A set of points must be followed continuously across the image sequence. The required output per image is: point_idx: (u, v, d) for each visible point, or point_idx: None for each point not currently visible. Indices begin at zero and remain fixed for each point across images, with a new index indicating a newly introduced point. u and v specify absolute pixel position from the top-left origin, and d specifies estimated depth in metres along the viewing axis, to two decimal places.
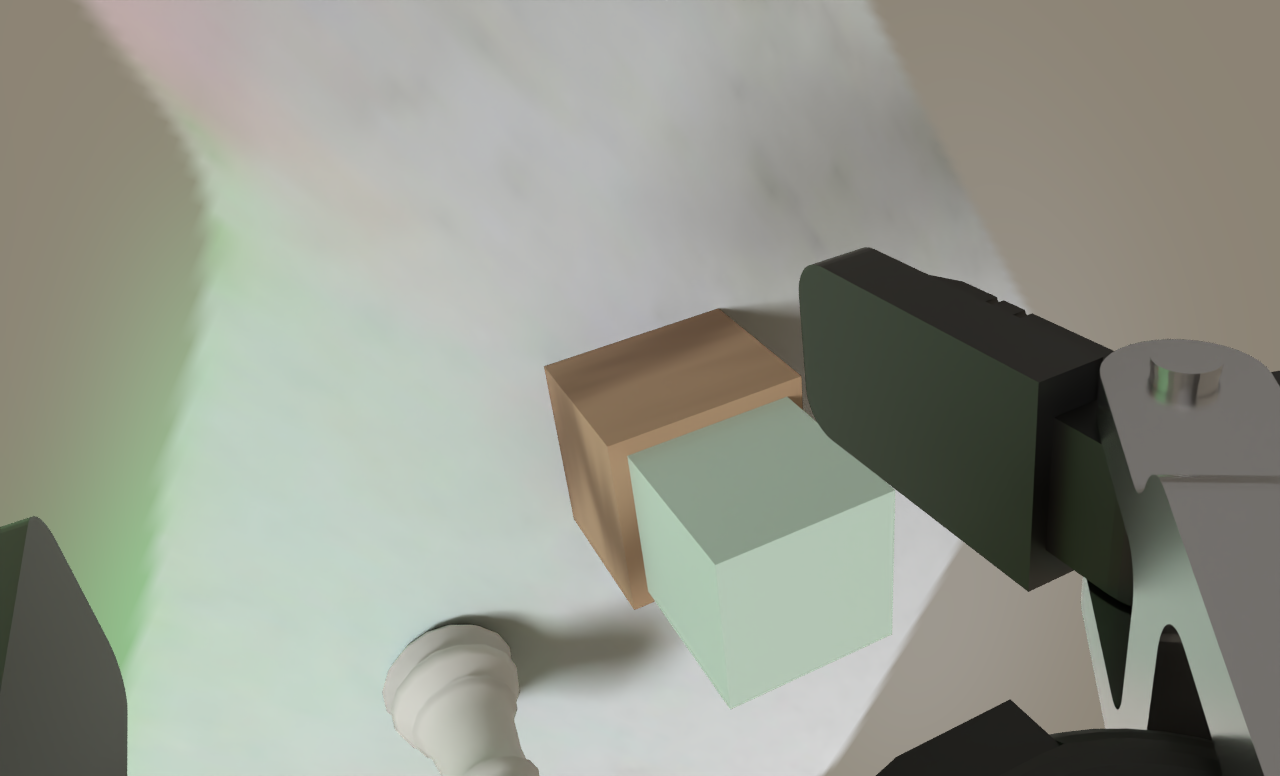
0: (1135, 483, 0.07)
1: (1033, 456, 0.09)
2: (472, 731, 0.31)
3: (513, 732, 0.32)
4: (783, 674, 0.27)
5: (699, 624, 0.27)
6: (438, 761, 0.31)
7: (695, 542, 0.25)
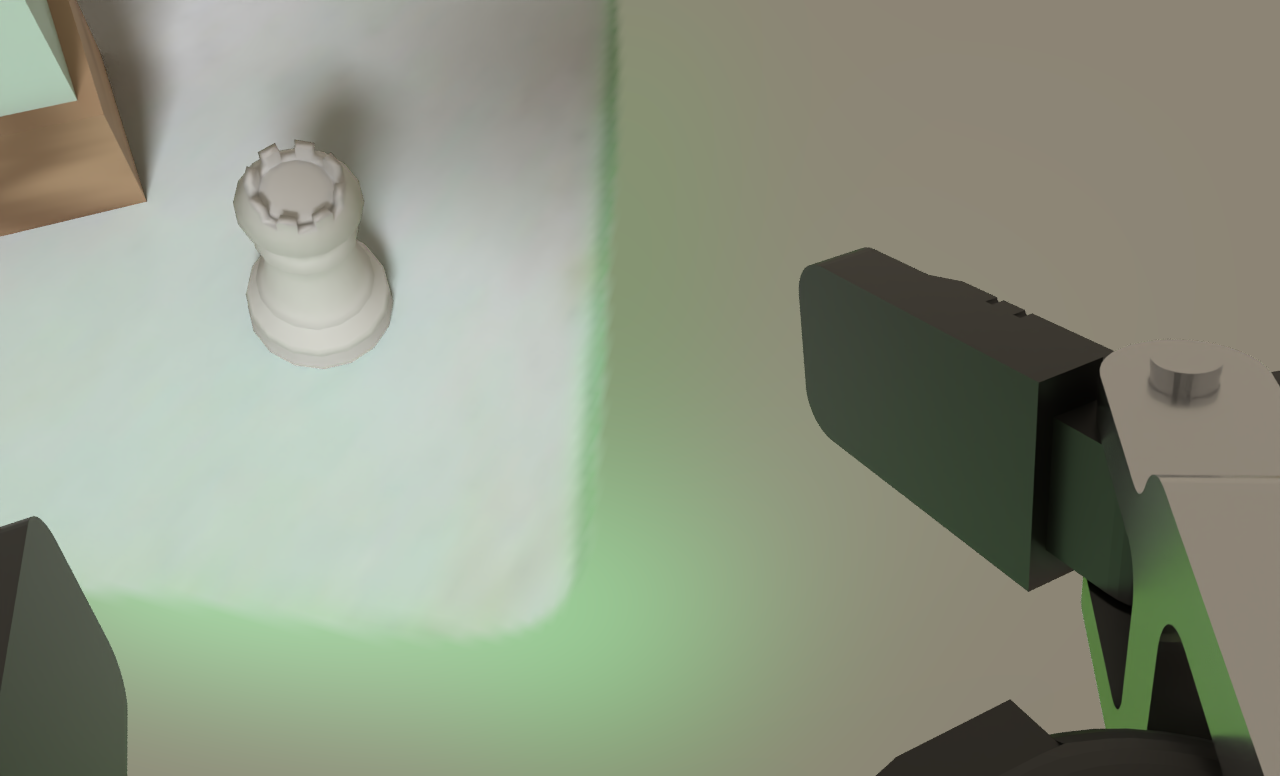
0: (1136, 483, 0.07)
1: (1033, 456, 0.09)
2: (267, 264, 0.29)
3: None
4: None
5: None
6: (310, 296, 0.30)
7: None
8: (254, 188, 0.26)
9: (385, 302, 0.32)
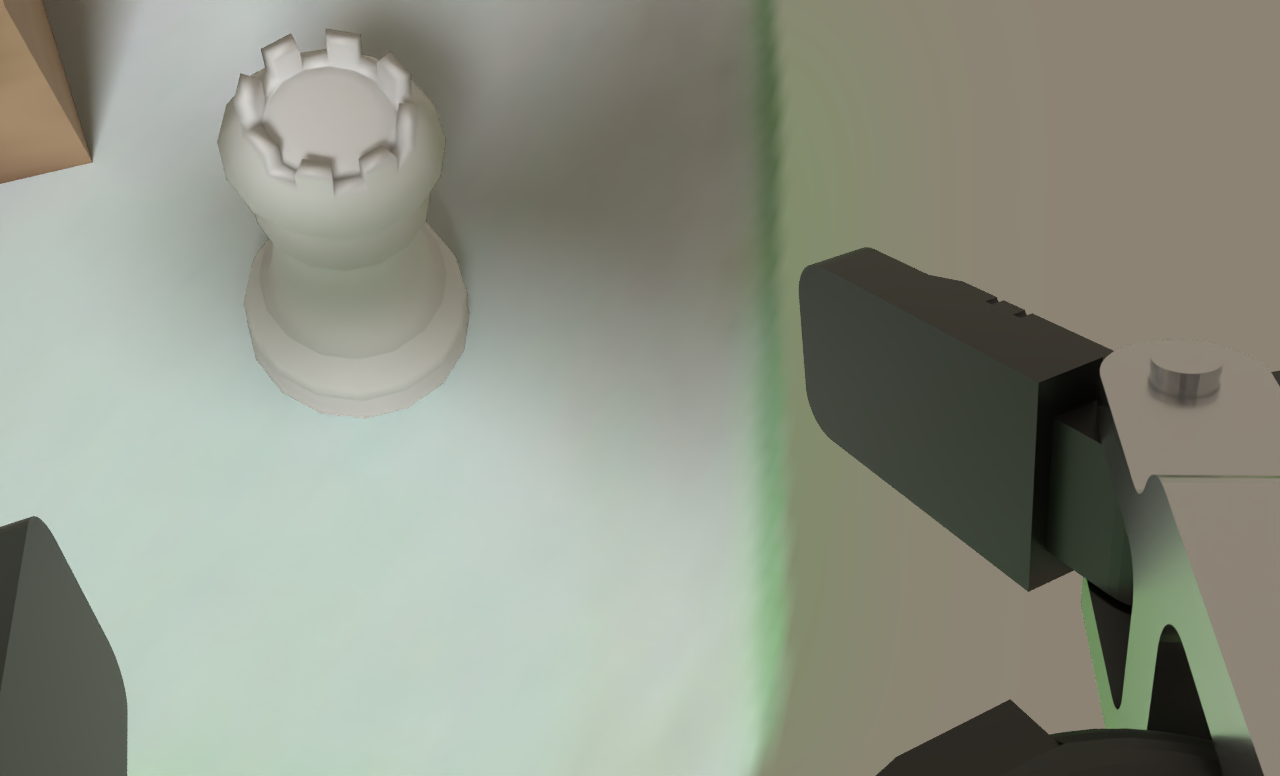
0: (1135, 483, 0.07)
1: (1033, 456, 0.09)
2: (276, 253, 0.18)
3: None
4: None
5: None
6: (349, 305, 0.18)
7: None
8: (255, 113, 0.15)
9: (461, 313, 0.21)
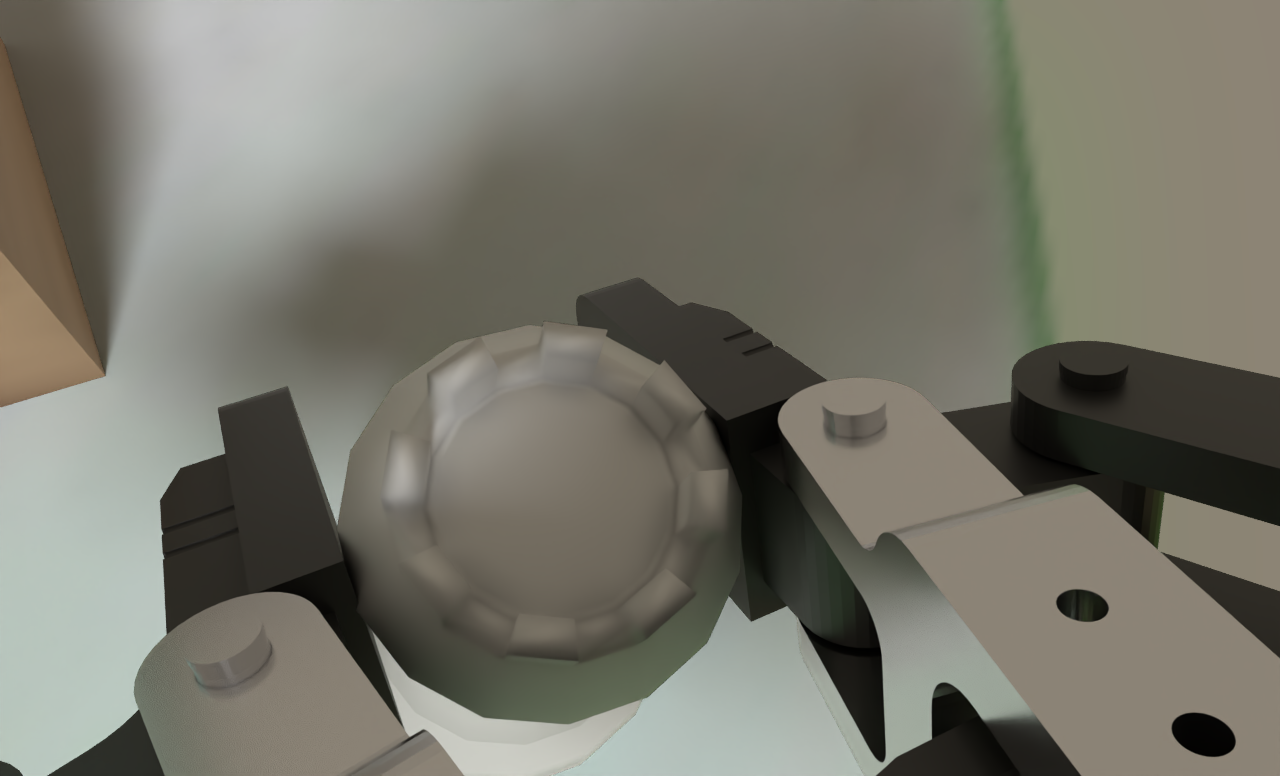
0: (859, 539, 0.07)
1: None
2: None
3: None
4: None
5: None
6: None
7: None
8: (416, 501, 0.07)
9: None
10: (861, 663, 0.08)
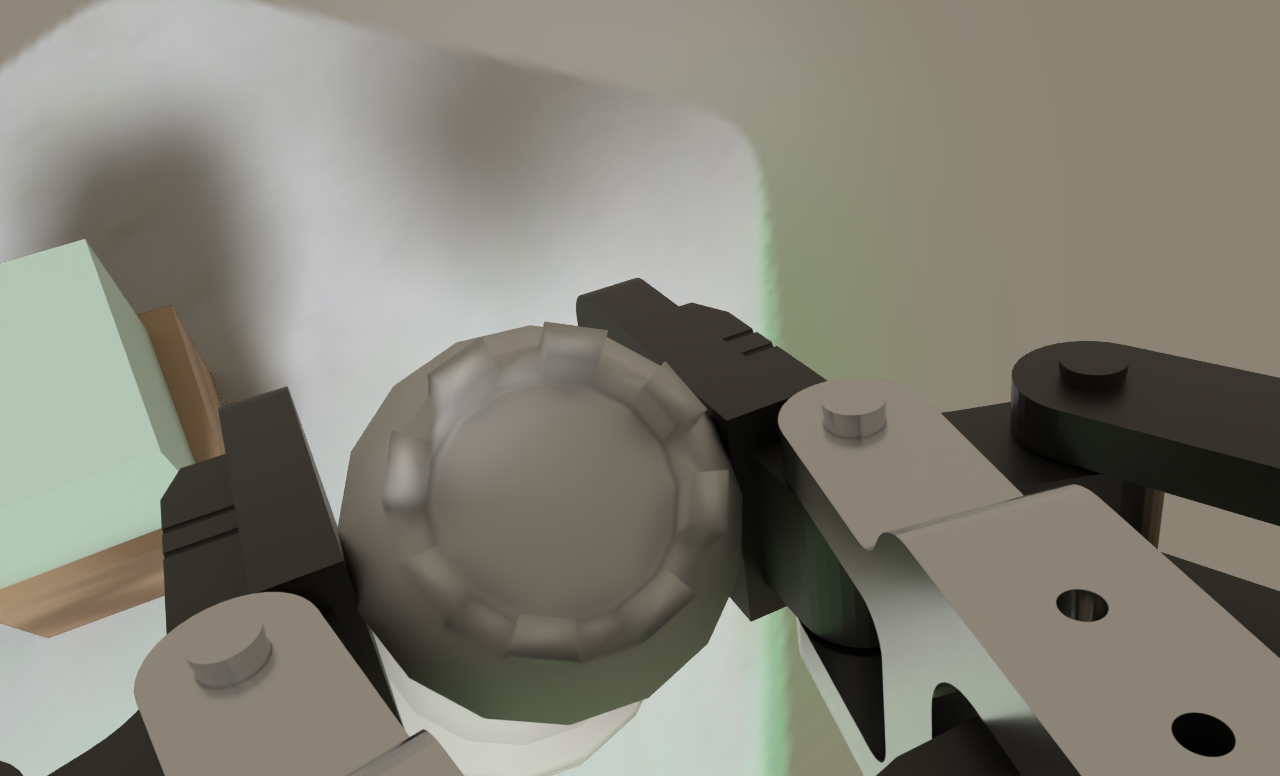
0: (858, 539, 0.07)
1: None
2: None
3: None
4: (117, 387, 0.21)
5: (84, 503, 0.21)
6: None
7: None
8: (416, 503, 0.07)
9: None
10: (861, 663, 0.08)
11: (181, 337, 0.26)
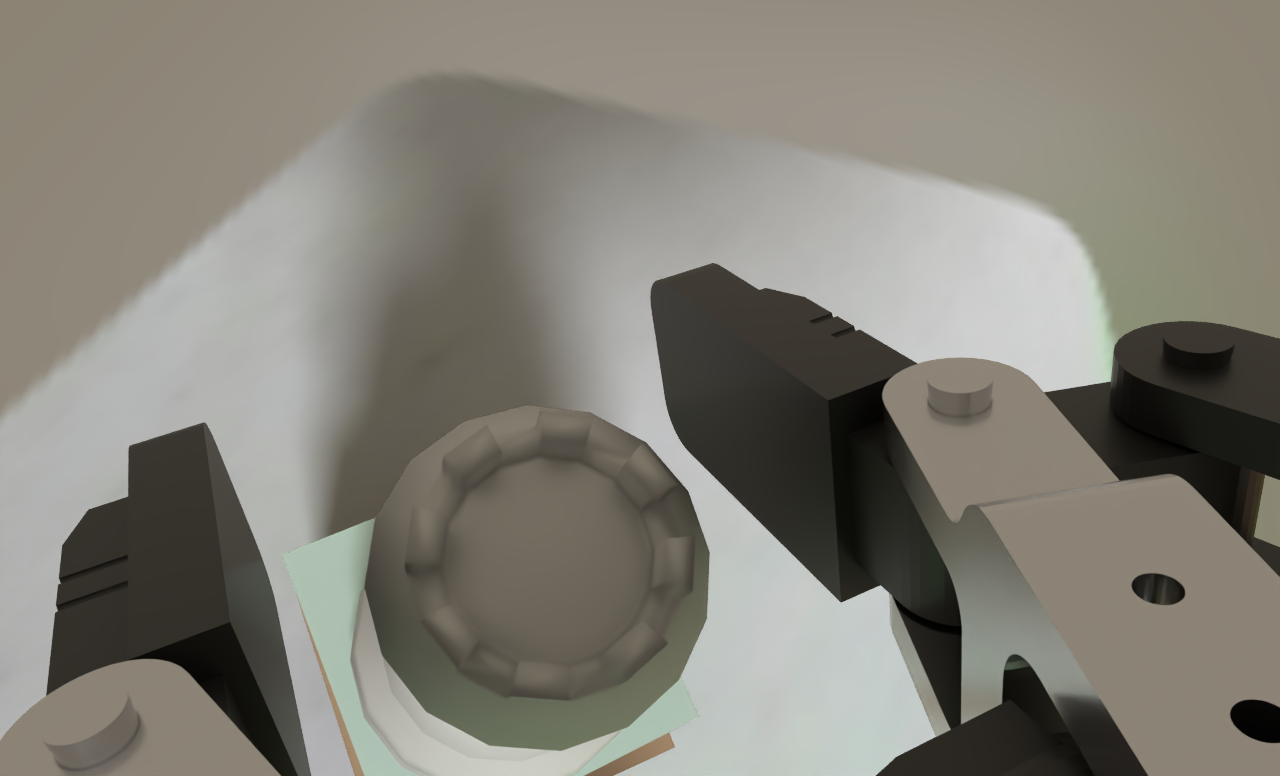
0: (947, 512, 0.07)
1: (832, 471, 0.09)
2: None
3: None
4: None
5: None
6: None
7: None
8: (434, 565, 0.09)
9: None
10: (948, 640, 0.09)
11: None
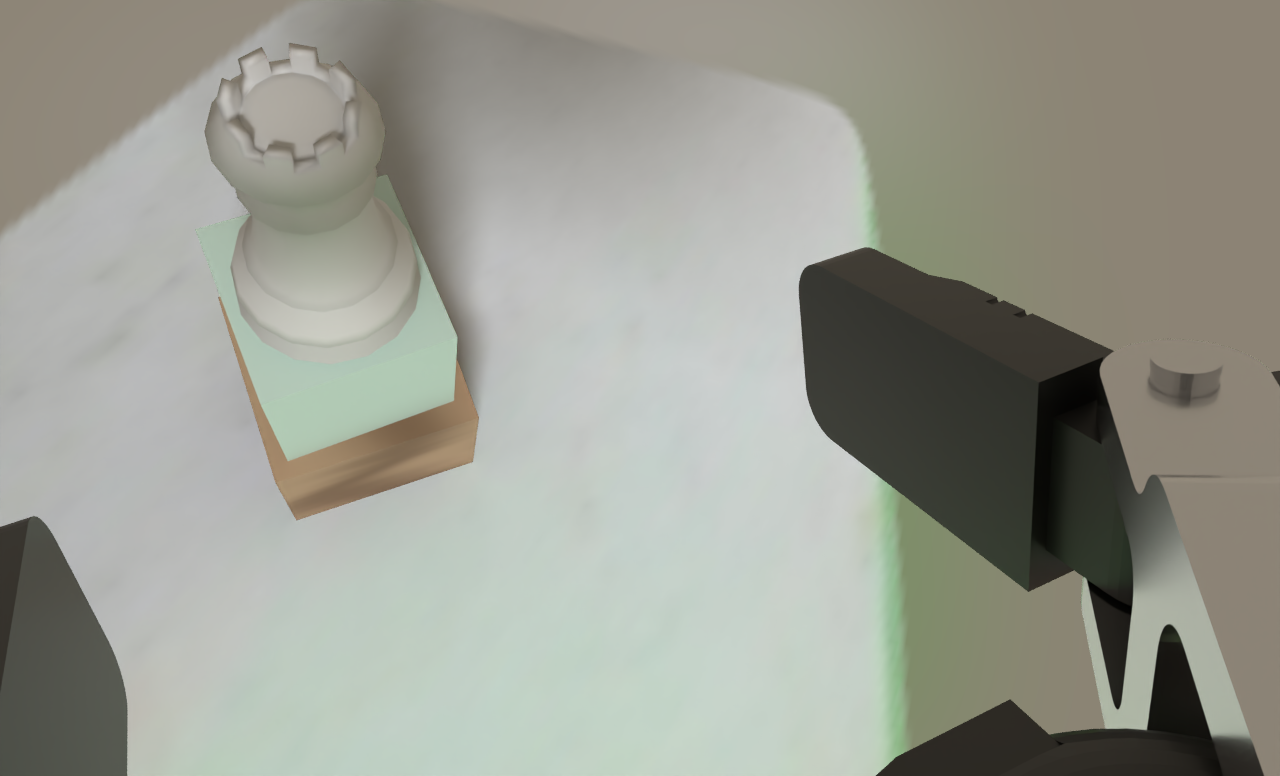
0: (1135, 483, 0.07)
1: (1033, 456, 0.09)
2: (254, 223, 0.22)
3: None
4: (420, 287, 0.27)
5: (390, 379, 0.27)
6: (313, 265, 0.22)
7: (269, 417, 0.26)
8: (232, 109, 0.19)
9: (411, 277, 0.25)
10: None
11: None
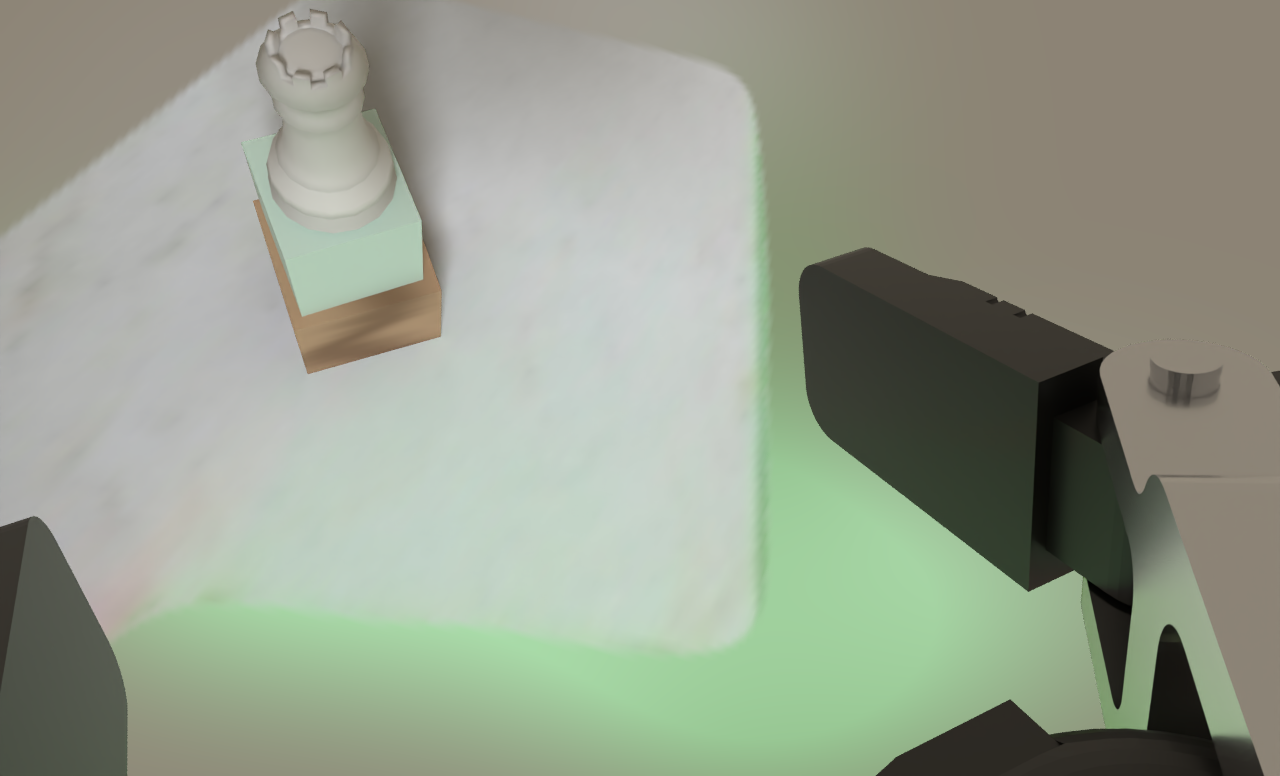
0: (1136, 483, 0.07)
1: (1033, 456, 0.09)
2: (284, 128, 0.33)
3: None
4: (397, 186, 0.38)
5: (374, 252, 0.38)
6: (322, 157, 0.34)
7: (290, 272, 0.37)
8: (274, 48, 0.30)
9: (389, 175, 0.36)
10: None
11: None
